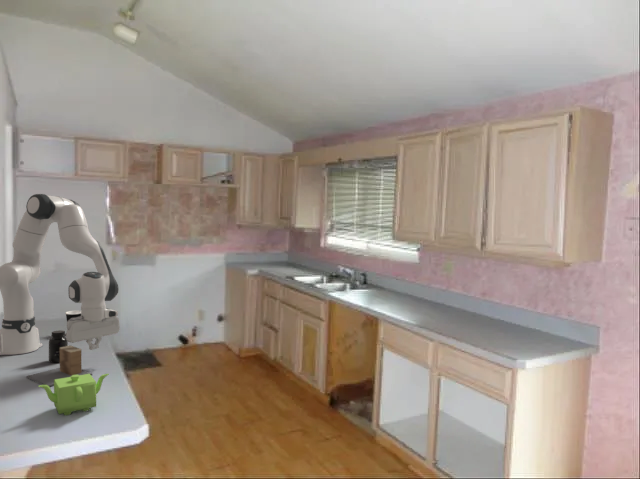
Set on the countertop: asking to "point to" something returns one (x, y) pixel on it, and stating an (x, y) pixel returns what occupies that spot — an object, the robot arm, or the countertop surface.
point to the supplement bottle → (56, 345)
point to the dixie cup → (72, 314)
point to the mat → (51, 376)
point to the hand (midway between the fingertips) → (93, 349)
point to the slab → (70, 360)
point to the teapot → (74, 393)
